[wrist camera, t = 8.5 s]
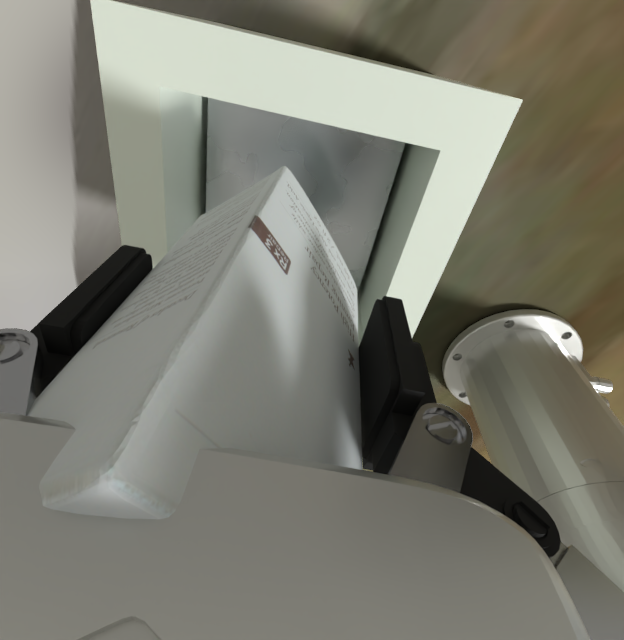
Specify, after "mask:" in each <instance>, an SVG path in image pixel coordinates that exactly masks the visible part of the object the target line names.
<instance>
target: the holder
mask: <svg viewBox="0 0 624 640" xmlns="http://www.w3.org/2000/svg"><path fill="white" fill-rule="evenodd" d="M90 2H91V10H92V18H93V26H94V34H95V42H96V49H97V57H98V65H99V73H100V81H101V88H102V96H103V104H104V112H105V120H106V127H107V135H108V143H109V151H110V159H111V166H112V174H113V182H114V190H115V198H116V205H117V213H118V221H119V229H120V237H121V244H122V246H123V245H129V246H134V247H139V248H144V249H145V251H146V254H150V255H151V257H152V266H153V268H154V267H155V266H156V265H157V264H158V263H159V262H160V261H161V260H162V258H163V257H164V256H165V255H166V254H167V253H168V252H169V251H170V250H171V248H172V247H173V246H174V245H175V244H176V243H177V242H178V241H179V240H180V239H181V237H182V236H183V235H184V234H185V233H186V232H187V231H188V230H189V228H190V227H191V226H192V225H193V224H194V222H195V221H196V220H197V219H198V218H199V217H200V216H201V215H203V214H205V213H206V178H207V128H208V98H212V99H217V100H221V101H225V102H230V103H234V104H238V105H243V106H247V107H252V108H256V109H260V110H265V111H269V112H274V113H278V114H282V115H287V116H291V117H295V118H300V119H304V120H309V121H313V122H317V123H322V124H326V125H331V126H335V127H339V128H344V129H348V130H352V131H357V132H361V133H366V134H370V135H374V136H379V137H383V138H388V139H392V140H396V141H401V142H405V146H404V149H403V153H402V156H401V159H400V162H399V165H398V168H397V171H396V174H395V178H394V181H393V184H392V187H391V190H390V193H389V196H388V200H387V203H386V206H385V209H384V212H383V215H382V218H381V222H380V225H379V228H378V231H377V234H376V237H375V240H374V244H373V247H372V250H371V253H370V256H369V259H368V262H367V265H366V269H365V272H364V275H363V278H362V281H361V284H360V287H359V291H358V294H357V302H358V341H359V345H360V343H361V340H362V337H363V334H364V331H365V329H366V326H367V323H368V320H369V318H370V315H371V312H372V309H373V306H374V304H375V301H376V300H377V299H380V300H382V298H383V297H384V296H388V297H393V298H398V299H402V301H403V305H404V309H405V313H406V317H407V321H408V325H409V329H410V333H411V337H413V335H414V333H415V331H416V329H417V327H418V324H419V322H420V320H421V318H422V316H423V314H424V311H425V309H426V307H427V305H428V303H429V301H430V299H431V296H432V294H433V292H434V290H435V288H436V286H437V284H438V281H439V279H440V277H441V275H442V273H443V271H444V268H445V266H446V264H447V262H448V260H449V258H450V256H451V253H452V251H453V249H454V247H455V245H456V243H457V241H458V238H459V236H460V234H461V232H462V230H463V228H464V225H465V223H466V221H467V219H468V217H469V215H470V213H471V210H472V208H473V206H474V204H475V202H476V200H477V197H478V195H479V193H480V191H481V189H482V187H483V185H484V182H485V180H486V178H487V176H488V174H489V172H490V170H491V167H492V165H493V163H494V161H495V159H496V157H497V154H498V152H499V150H500V148H501V146H502V144H503V142H504V139H505V137H506V135H507V133H508V131H509V129H510V127H511V124H512V122H513V120H514V118H515V116H516V114H517V111H518V109H519V107H520V105H521V103H522V101H523V100H522V99H518V98H515V97H511V96H508V95H504V94H500V93H497V92H493V91H490V90H486V89H483V88H479V87H475V86H472V85H468V84H465V83H461V82H458V81H454V80H450V79H447V78H443V77H440V76H436V75H432V74H428V73H424V72H420V71H416V70H411V69H407V68H403V67H399V66H395V65H391V64H387V63H383V62H378V61H374V60H370V59H366V58H362V57H358V56H354V55H349V54H345V53H341V52H337V51H333V50H329V49H325V48H321V47H316V46H312V45H308V44H304V43H300V42H296V41H292V40H287V39H283V38H279V37H275V36H271V35H267V34H263V33H259V32H254V31H250V30H246V29H242V28H238V27H234V26H230V25H225V24H221V23H217V22H213V21H208V20H203V19H199V18H194V17H189V16H185V15H180V14H175V13H171V12H166V11H161V10H156V9H152V8H147V7H142V6H138V5H133V4H128V3H124V2H119V1H114V0H90Z"/></svg>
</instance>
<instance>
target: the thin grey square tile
mask: <svg viewBox="0 0 624 640" xmlns="http://www.w3.org/2000/svg"><path fill="white" fill-rule="evenodd" d="M404 146H405V142H401V141H396V140H392V139H388V138H383V137H379V136H374V135H370V134H366V133H361V132H357V131H352V130H348V129H344V128H339V127H335V126H331V125H326V124H322V123H317V122H313V121H309V120H304V119H300V118H295V117H291V116H287V115H282V114H278V113H274V112H269V111H265V110H260V109H256V108H252V107H247V106H243V105H238V104H234V103H230V102H225V101H221V100H217V99H212V98H208V128H207V178H206V213H207V212H209V211H210V210H212V209H214V208H215V207H217V206H219V205H221V204H222V203H224V202H226V201H227V200H229V199H231V198H232V197H234V196H236V195H237V194H239V193H241V192H242V191H244V190H246V189H247V188H249V187H251V186H252V185H254V184H256V183H257V182H259V181H261V180H262V179H264V178H265V177H267V176H269V175H270V174H272V173H274V172H275V171H277V170H278V169H279V168H281V167H282V166H286V167H287V168H288V169H289V170H290V171H291V172H292V174H293V175H294V177H295V178H296V180H297V181H298V183H299V184H300V186H301V187H302V189H303V190H304V192H305V194H306V195H307V197H308V199H309V200H310V202H311V204H312V205H313V207H314V208H315V210H316V212H317V213H318V215H319V217H320V218H321V220H322V222H323V223H324V225H325V227H326V229H327V230H328V232H329V234H330V236H331V237H332V239H333V241H334V243H335V244H336V246H337V248H338V250H339V252H340V254H341V256H342V258H343V260H344V262H345V263H346V265H347V267H348V269H349V271H350V273H351V276H352V278H353V280H354V282H355V285H356V288H357V294H358V291H359V287H360V284H361V281H362V278H363V275H364V272H365V269H366V265H367V262H368V259H369V256H370V253H371V250H372V247H373V244H374V240H375V237H376V234H377V231H378V228H379V225H380V222H381V218H382V215H383V212H384V209H385V206H386V203H387V200H388V196H389V193H390V190H391V187H392V184H393V181H394V178H395V174H396V171H397V168H398V165H399V162H400V159H401V156H402V153H403V149H404Z"/></svg>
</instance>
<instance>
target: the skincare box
mask: <svg viewBox="0 0 624 640" xmlns="http://www.w3.org/2000/svg"><path fill="white" fill-rule="evenodd" d="M360 403H361V399H360V372H359V341H358V302H357V288H356V285H355V282H354V280H353V278H352V276H351V273H350V271H349V269H348V267H347V265H346V263H345V262H344V260H343V258H342V256H341V254H340V252H339V250H338V248H337V246H336V244H335V243H334V241H333V239H332V237H331V236H330V234H329V232H328V230H327V229H326V227H325V225H324V223H323V222H322V220H321V218H320V217H319V215H318V213H317V212H316V210H315V208H314V207H313V205H312V204H311V202H310V200H309V199H308V197H307V195H306V194H305V192H304V190H303V189H302V187H301V186H300V184H299V183H298V181H297V180H296V178H295V177H294V175H293V174H292V172H291V171H290V170H289V169H288V168H287V167H286V166H282V167H281V168H279V169H278V170H277V171H275V172H274V173H272V174H270V175H269V176H267V177H265V178H264V179H262V180H261V181H259V182H257V183H256V184H254V185H252V186H251V187H249V188H247V189H246V190H244V191H242V192H241V193H239V194H237V195H236V196H234V197H232V198H231V199H229V200H227V201H226V202H224V203H222V204H221V205H219V206H217V207H215V208H214V209H212V210H210V211H209V212H207V213H205V214H203V215H201V216H200V217H199V218H198V219H197V220H196V221H195V222H194V224H193V225H192V226H191V227H190V228H189V230H188V231H187V232H186V233H185V234H184V235H183V236H182V237H181V239H180V240H179V241H178V242H177V243H176V244H175V245H174V246H173V247H172V248H171V250H170V251H169V252H168V253H167V254H166V255H165V256H164V257H163V258H162V260H161V261H160V262H159V263H158V264H157V265H156V266H155V267H154V268H153V269H152V271H151V272H150V273H149V274H148V275H147V276H146V277H145V278H144V280H143V281H142V282H141V283H140V284H139V285H138V286H137V287H136V289H135V290H134V291H133V292H132V293H131V294H130V295H129V296H128V297H127V298H126V299H125V301H124V302H123V303H122V304H121V305H120V306H119V307H118V308H117V310H116V311H115V312H114V313H113V314H112V315H111V316H110V317H109V319H108V320H107V321H106V322H105V323H104V324H103V325H102V326H101V327H100V328H99V330H98V331H97V332H96V333H95V334H94V335H93V336H92V337H91V338H90V339H89V341H88V342H87V343H86V344H85V345H84V346H83V347H82V348H81V349H80V351H79V352H78V353H77V354H76V355H75V356H74V357H73V358H72V359H71V361H70V362H69V363H68V364H67V365H66V366H65V367H64V368H63V369H62V371H61V372H60V373H59V374H58V375H57V376H56V377H55V378H54V379H53V381H52V382H51V383H50V384H49V385H48V386H47V387H46V388H45V389H44V391H43V392H42V393H41V394H40V395H39V396H38V397H37V398H36V399H35V401H34V403H33V405H32V407H31V409H30V411H29V413H28V415H27V416H32V417H39V418H46V419H53V420H59V421H65V422H67V423H69V424H70V425H72V426H73V427H74V428H75V429H76V431H75V432H74V433H73V435H72V436H71V438H70V439H69V440H68V442H67V443H66V444H65V446H64V447H63V449H62V450H61V451H60V453H59V454H58V455H57V457H56V458H55V460H54V461H53V463H52V464H51V466H50V467H49V469H48V470H47V472H46V473H45V475H44V477H43V478H42V480H41V481H40V484H39V490H40V494H41V499H42V504H43V506H44V507H47V508H50V509H53V510H58V511H64V512H70V513H75V514H82V515H93V516H104V517H114V518H125V519H163V518H168V517H169V516H170V515H172V514H173V513H174V512H175V511H176V509H177V507H178V506H179V504H180V502H181V499H182V496H183V494H184V491H185V488H186V486H187V483H188V480H189V477H190V474H191V472H192V469H193V466H194V463H195V461H196V458H197V455H198V452H199V449H211V448H235V449H241V450H247V451H253V452H259V453H265V454H271V455H277V456H283V457H289V458H295V459H301V460H307V461H313V462H319V463H325V464H331V465H337V466H342V467H348V468H354V469H359V470H362V440H361V405H360Z"/></svg>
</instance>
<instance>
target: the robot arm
mask: <svg viewBox="0 0 624 640" xmlns="http://www.w3.org/2000/svg"><path fill="white" fill-rule="evenodd" d="M152 269H153V266H152V257H151V255H150V254H146V251H145V249H144V248H139V247H134V246H129V245H123V246H122V247H120V248H119V249H118V250H117V251H116V252H115V253H114V254H113V255H112V256H111V257H110V258H109V259H107V260H106V261H105V262H104V263H103V264H102V265H101V266H100V267H99V268H98V269H97V270H96V271H94V272H93V273H92V274H91V275H90V276H89V277H88V278H87V279H86V280H85V281H84V282H83V283H81V284H80V285H79V286H78V287H77V288H76V289H75V290H74V291H73V292H72V293H71V294H70V295H69V296H67V297H66V298H65V299H64V300H63V301H62V302H61V303H60V304H59V305H58V306H57V307H56V308H54V309H53V310H52V311H51V312H50V313H49V314H48V315H47V316H46V317H45V318H44V319H43V320H41V322H40V323H39V324H38V325H37V326H35V327H34V328H33V329H32V330H31V331H30V332H29V331H27V330H22V329H1V330H0V640H624V426H623V425H622V424H621V422H620V421H619V420H618V418H617V417H616V416H615V414H614V413H613V412H612V410H611V409H610V408H609V402H608V400H607V399H606V398H605V397H603V396H600V394H599V393H598V392H600V393H609V392H611V390H612V389H613V384H612V382H611V381H610V380H609V379H605V378H600V377H591V376H590V374H589V373H588V372H587V370H586V369H585V368H584V366H583V365H582V364H581V363H580V362H581V360H582V355H583V346H582V341H581V339H580V337H579V335H578V333H577V332H576V330H575V329H574V328H573V327H572V326H571V325H570V324H569V323H568V322H567V321H566V320H564V319H563V318H561V317H560V316H558V315H555V314H553V313H550V312H546V311H541V310H535V309H520V310H511V311H506V312H502V313H498V314H494V315H492V316H489V317H487V318H484V319H482V320H480V321H478V322H476V323H475V324H473V325H471V326H469V327H468V328H467V329H466V330H464V331H463V332H462V333H461V334H459V335H458V336H457V338H456V339H455V340H454V341H453V342H452V343H451V345H450V346H449V348H448V349H447V351H446V353H445V356H444V359H443V365H442V372H443V377H444V380H445V383H446V385H447V388H448V389H449V390H450V392H451V393H452V394H453V395H454V396H455V397H456V398H457V399H459V400H460V401H462V402H464V403H466V404H468V405H470V406H471V408H472V411H473V414H474V416H475V419H476V422H477V425H478V427H479V430H480V433H481V435H482V438H483V441H484V444H485V446H486V449H487V452H488V455H489V457H490V460H491V463H492V464H491V463H490V462H489V461H487V460H486V459H485V458H484V457H483V456H481V455H480V454H479V453H478V452H477V451H475V450H474V449H473V448H472V447H471V445H472V441H473V433H472V431H471V428H470V426H469V424H468V423H467V421H466V420H465V419H464V418H463V417H462V416H461V415H460V414H459V413H458V412H457V411H455V410H454V409H452V408H450V407H448V406H445V405H443V404H438V403H436V399H435V395H434V392H433V388H432V384H431V381H430V377H429V374H428V370H427V366H426V363H425V359H424V355H423V352H422V348H421V346H420V344H419V343H417V342H413V341H412V337H411V333H410V329H409V325H408V321H407V317H406V313H405V309H404V305H403V301H402V299H398V298H393V297H388V296H384V297H383V298H382V300H380V299H377V300H376V301H375V304H374V306H373V309H372V312H371V315H370V318H369V320H368V323H367V326H366V329H365V331H364V334H363V337H362V340H361V343H360V345H359V372H360V399H361V403H360V405H361V440H362V457H363V469H369V470H373V472H370V471H365V470H359V469H354V468H348V467H342V466H337V465H331V464H325V463H319V462H313V461H307V460H301V459H295V458H289V457H283V456H277V455H271V454H265V453H259V452H253V451H247V450H241V449H235V448H211V449H199V452H198V455H197V458H196V461H195V463H194V466H193V469H192V472H191V474H190V477H189V480H188V483H187V486H186V488H185V491H184V494H183V496H182V499H181V502H180V504H179V506H178V507H177V509H176V511H175V512H174V513H173V514H172V515H170V516H169V517H168V518H163V519H125V518H114V517H104V516H93V515H82V514H75V513H70V512H64V511H58V510H53V509H50V508H47V507H44V506H43V504H42V499H41V494H40V490H39V484H40V481H41V480H42V478H43V477H44V475H45V473H46V472H47V470H48V469H49V467H50V466H51V464H52V463H53V461H54V460H55V458H56V457H57V455H58V454H59V453H60V451H61V450H62V449H63V447H64V446H65V444H66V443H67V442H68V440H69V439H70V438H71V436H72V435H73V433H74V432H75V431H76V429H75V428H74V427H73V426H72V425H70V424H69V423H67V422H65V421H59V420H53V419H46V418H39V417H32V416H27V415H28V413H29V411H30V409H31V407H32V405H33V403H34V401H35V399H36V398H37V397H38V396H39V395H40V394H41V393H42V392H43V391H44V389H45V388H46V387H47V386H48V385H49V384H50V383H51V382H52V381H53V379H54V378H55V377H56V376H57V375H58V374H59V373H60V372H61V371H62V369H63V368H64V367H65V366H66V365H67V364H68V363H69V362H70V361H71V359H72V358H73V357H74V356H75V355H76V354H77V353H78V352H79V351H80V349H81V348H82V347H83V346H84V345H85V344H86V343H87V342H88V341H89V339H90V338H91V337H92V336H93V335H94V334H95V333H96V332H97V331H98V330H99V328H100V327H101V326H102V325H103V324H104V323H105V322H106V321H107V320H108V319H109V317H110V316H111V315H112V314H113V313H114V312H115V311H116V310H117V308H118V307H119V306H120V305H121V304H122V303H123V302H124V301H125V299H126V298H127V297H128V296H129V295H130V294H131V293H132V292H133V291H134V290H135V289H136V287H137V286H138V285H139V284H140V283H141V282H142V281H143V280H144V278H145V277H146V276H147V275H148V274H149V273H150V272H151V271H152Z"/></svg>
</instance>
